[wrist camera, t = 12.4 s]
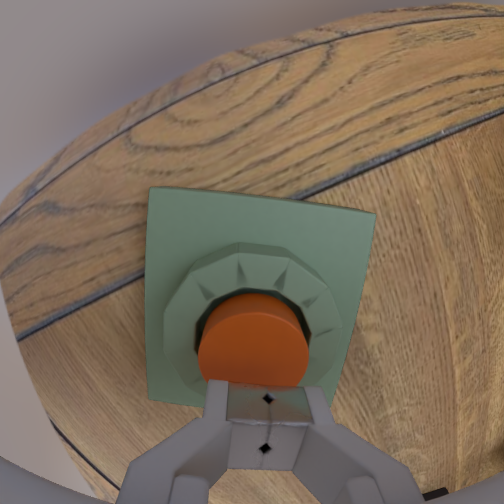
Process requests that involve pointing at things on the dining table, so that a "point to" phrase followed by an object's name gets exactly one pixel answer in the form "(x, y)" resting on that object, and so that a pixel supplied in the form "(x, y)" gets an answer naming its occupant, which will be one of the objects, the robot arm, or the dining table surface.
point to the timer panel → (435, 494)
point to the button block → (248, 277)
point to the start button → (253, 342)
